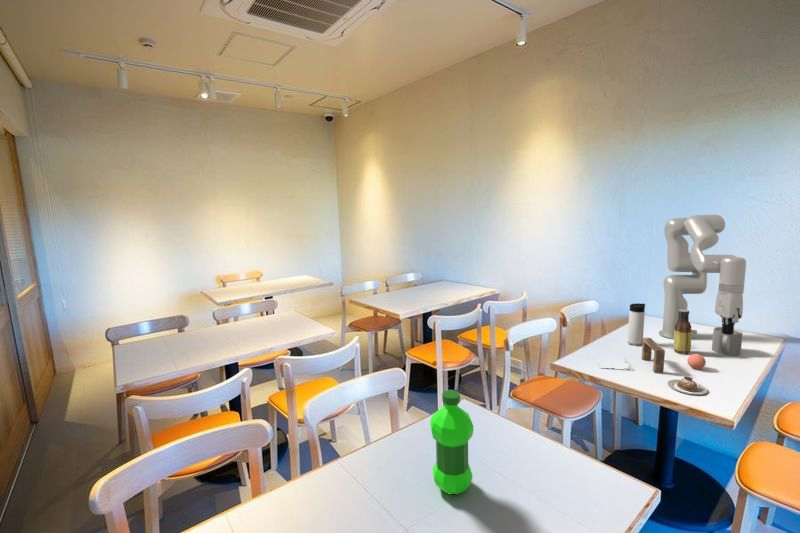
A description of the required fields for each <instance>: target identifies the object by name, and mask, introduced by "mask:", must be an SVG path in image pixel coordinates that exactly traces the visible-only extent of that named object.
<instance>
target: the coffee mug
mask: <svg viewBox="0 0 800 533" xmlns="http://www.w3.org/2000/svg"><path fill="white" fill-rule="evenodd" d="M743 335H744V334H743V331H742V330H740V329H737V328H734V332H733V335H730V334H723V333H722V326H717V327H713V333H712V344H711V351H713V352H714V353H716V354H719V355H724V356H731V357H735V356H737V357H738V356H740V355H741V354H742V344H743V343H742V342H743Z"/></svg>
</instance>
